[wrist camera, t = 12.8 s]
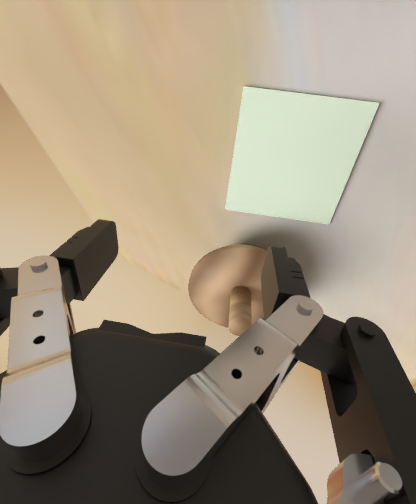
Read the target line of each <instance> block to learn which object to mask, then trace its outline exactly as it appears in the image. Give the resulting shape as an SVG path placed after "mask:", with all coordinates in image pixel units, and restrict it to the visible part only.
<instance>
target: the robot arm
mask: <svg viewBox="0 0 416 504" xmlns="http://www.w3.org/2000/svg"><path fill="white" fill-rule="evenodd" d="M117 254H118V240H117V231H116V225H115V222H113V221H107V220H100V219H99V220H97V221H96V222H95V223H94V224H93V225H91V227H87V228H85V229H82V230H80V231H78V232H77V233H75V235H73V236H72V238H70V239H68V240H67V242H65V243H64V244H63V245H61V246H60V247H59V248H58V249H57V250H56V251H54V252H53V253H52V254H51V255H50V256H38V257H34V258H31V259H28V260H26V261H25V262H23V263H22V264H21V265H20V266H19V268H0V336H1V334H2V333H3V332H4V331H5V330H6V329H7V328H8V327H9V326H10V331H9V348H8V365H7V370H6V371H5V372H3V373H1V374H0V504H318V503H317V500H316V498H315V496H314V494H313V492H312V490H311V488H310V486H309V485H308V483H307V481H306V480H305V478H304V477H303V475H302V473H301V472H300V470H299V469H298V467H297V466H296V464H295V463H294V461H293V460H292V458H291V456H290V455H289V453H288V452H287V450H286V449H285V447H284V446H283V444H282V443H281V441H280V439H279V438H278V436H277V435H276V433H275V432H274V430H273V429H272V427H271V426H270V424H269V423H268V421H267V419H266V418H265V416H264V415H263V412H264V411H265V409H266V408H267V407H268V405H269V403H270V402H271V401H272V399H273V397H274V395H275V394H276V392H277V391H278V390H279V388H280V387H281V385H282V384H283V383H284V381H285V380H286V379H287V377H288V376H289V375H290V373H291V372H292V371H293V369H294V368H295V367H296V365H297V364H298V363H299V361H301V362H303V363H305V364H307V365H310V366H312V367H314V368H316V369H318V370H320V371H321V376H322V381H323V386H324V390H325V395H326V400H327V405H328V409H329V414H330V419H331V423H332V428H333V433H334V438H335V442H336V447H337V452H338V457H339V461H340V464H339V465H338V466H337V467H336V468H335V469H334V470H333V471H332V472H331V473H330V475H329V478H328V482H327V490H328V499H327V504H416V393H415V391H414V389H413V387H412V385H411V383H410V381H409V380H408V378H407V376H406V374H405V372H404V370H403V368H402V366H401V364H400V362H399V360H398V358H397V356H396V354H395V352H394V350H393V348H392V346H391V344H390V342H389V340H388V338H387V336H386V335H385V333H384V332H383V330H382V329H381V328H380V327H378V326H377V325H376V324H374V323H373V322H371V321H369V320H367V319H364V318H361V317H351V318H349V319H348V320H347V321H346V323H343V322H340V321H338V320H335V319H333V318H330V317H328V316H326V315H324V314H323V310H322V308H321V306H320V305H319V304H318V303H317V302H316V301H314V300H313V299H311V298H310V295H309V292H308V289H307V285H306V282H305V280H304V276H303V274H302V270H301V267H300V265H299V264H298V263H297V261H296V260H295V259H294V258H288V257H287V253H286V249H285V247H279V246H272V245H270V246H269V247H268V250H267V254H266V258H265V261H264V265H263V268H262V273H261V289H262V300H263V311H264V319H263V318H260V319H258V320H257V321H256V322H255V323H254V324H253V325H251V326H250V327H249V328H248V329H247V330H246V331H245V332H244V333H243V334H242V335H240V336H239V337H238V338H237V339H236V340H235V341H234V342H233V343H232V344H231V345H229V346H228V347H227V348H226V349H225V350H224V351H223V352H222V353H221V354H220V353H218V352H217V351H216V350H214V349H213V348H210V347H209V346H206V345H205V341H206V337H204V336H198V335H192V334H185V333H166V334H151V333H149V332H146V331H144V330H142V329H139V328H137V327H135V326H132V325H130V324H126V323H120V322H113V321H108V320H104V321H103V322H102V324H101V326H100V327H99V328H93V329H88V330H84V331H80V332H78V333H76V331H75V325H74V320H73V315H72V309H71V305H70V302H71V301H72V300H73V299H75V300H82V301H84V299H85V298H86V297H87V296H88V294H89V293H90V292H91V290H92V289H93V288H94V286H95V285H96V284H97V282H98V281H99V280H100V278H101V277H102V276H103V274H104V273H105V272H106V270H107V269H108V268H109V267H110V265H111V264H112V263H113V261H114V260H115V258H116V257H117Z"/></svg>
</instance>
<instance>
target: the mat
mask: <svg viewBox="0 0 416 504" xmlns="http://www.w3.org/2000/svg"><path fill="white" fill-rule="evenodd" d="M378 106H379V103H377V102H369V101H361V100H352V99H344V98H336V97H328V96H320V95H312V94H303V93H295V92H287V91H279V90H271V89H262V88H254V87H246V86H244V87H243V94H242V100H241V107H240V113H239V120H238V127H237V133H236V140H235V146H234V153H233V160H232V166H231V173H230V180H229V186H228V193H227V199H226V206H225V210H232V211H239V212H246V213H253V214H260V215H267V216H274V217H281V218H288V219H295V220H302V221H308V222H315V223H322V224H330V221H331V219H332V216H333V214H334V212H335V209H336V207H337V204H338V202H339V200H340V197H341V195H342V192H343V190H344V187H345V185H346V183H347V180H348V178H349V175H350V173H351V171H352V168H353V166H354V163H355V161H356V159H357V156H358V154H359V151H360V149H361V147H362V144H363V142H364V139H365V137H366V135H367V132H368V130H369V127H370V125H371V123H372V120H373V118H374V115H375V113H376V110H377V108H378Z"/></svg>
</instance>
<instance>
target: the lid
mask: <svg viewBox="0 0 416 504" xmlns="http://www.w3.org/2000/svg"><path fill="white" fill-rule="evenodd" d="M266 254H267V250H266V249H263V248H260V247H256V246H250V245H231V246H226V247H222V248H219V249H216V250H214V251H212V252H210V253H208V254H207V255H205V256H204V257H203V258H202V259H201V260H200V261H198V263H197V264H196V265H195V267H194V269H193V270H192V273H191V276H190V279H189V285H188V291H189V296H190V299H191V301H192V303H193V305H194V306H195V308H196V309H197V310H198V311H199V312H200V314H202V315H203V316H204V317H205V318H207V319H208V320H210V321H212V322H214V323H216V324H218V325H221V326H224V327H228V328H229V331H230V332H231V333H232V334H234V335H237V336H240V335H242V334H243V333H244V332H245V331H246V330H247V329H248V328H249V327H250V326H251V325H253V324H254V323H255V322H256V321H257V320H258V319H260V318H263V319H264V311H263V300H262V289H261V273H262V268H263V265H264V261H265V258H266Z"/></svg>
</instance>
